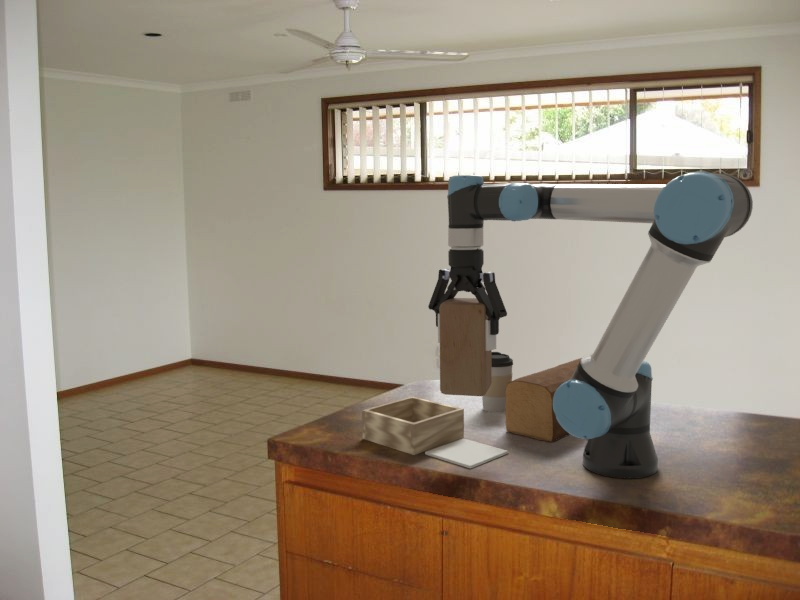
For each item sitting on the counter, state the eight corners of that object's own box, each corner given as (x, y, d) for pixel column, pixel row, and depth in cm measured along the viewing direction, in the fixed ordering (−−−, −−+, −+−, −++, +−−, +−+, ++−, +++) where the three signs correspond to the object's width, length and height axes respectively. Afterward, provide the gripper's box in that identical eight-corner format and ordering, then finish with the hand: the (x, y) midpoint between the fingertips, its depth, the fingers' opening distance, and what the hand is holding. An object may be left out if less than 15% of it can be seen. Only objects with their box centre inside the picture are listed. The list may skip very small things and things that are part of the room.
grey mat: (508, 453, 168) (508, 450, 168) (470, 468, 159) (470, 465, 159) (463, 440, 178) (463, 438, 177) (425, 454, 168) (425, 451, 168)
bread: (621, 412, 199) (622, 359, 198) (553, 444, 175) (553, 384, 173) (573, 403, 209) (574, 352, 207) (502, 432, 184) (503, 375, 182)
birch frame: (463, 437, 180) (463, 408, 179) (414, 455, 168) (413, 424, 167) (412, 423, 192) (412, 396, 191) (362, 438, 180) (362, 410, 179)
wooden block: (485, 397, 160) (485, 304, 158) (439, 395, 163) (438, 303, 160) (492, 386, 170) (492, 298, 167) (448, 384, 172) (447, 297, 170)
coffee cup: (515, 413, 199) (515, 357, 197) (480, 413, 199) (480, 358, 197) (510, 404, 208) (510, 350, 206) (477, 404, 208) (477, 351, 206)
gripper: (524, 249, 156) (523, 350, 159) (434, 245, 174) (435, 336, 177) (501, 251, 151) (501, 356, 154) (412, 247, 169) (413, 341, 171)
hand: (466, 345), depth 165 cm, fingers closed on wooden block, 13 cm apart
